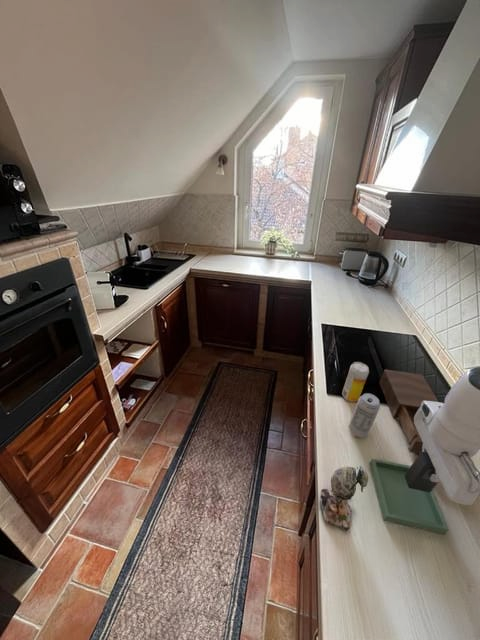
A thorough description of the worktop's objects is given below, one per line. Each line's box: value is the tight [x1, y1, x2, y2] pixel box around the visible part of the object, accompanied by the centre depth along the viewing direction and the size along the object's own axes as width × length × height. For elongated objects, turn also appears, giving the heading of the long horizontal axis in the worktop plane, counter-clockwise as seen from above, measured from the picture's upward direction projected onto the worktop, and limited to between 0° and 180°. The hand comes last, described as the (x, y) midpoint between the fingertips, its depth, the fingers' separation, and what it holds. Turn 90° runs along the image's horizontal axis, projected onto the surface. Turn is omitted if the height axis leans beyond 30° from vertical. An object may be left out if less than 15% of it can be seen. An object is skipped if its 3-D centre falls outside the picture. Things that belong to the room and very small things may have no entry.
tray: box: [369, 458, 449, 535], centre depth 67 cm, size 14×15×2 cm
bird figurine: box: [319, 465, 369, 532], centre depth 60 cm, size 8×11×20 cm
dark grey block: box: [405, 452, 439, 492], centre depth 62 cm, size 5×3×11 cm, turn 79°
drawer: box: [397, 406, 423, 454], centre depth 80 cm, size 21×12×5 cm, turn 169°
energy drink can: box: [348, 392, 381, 438], centre depth 80 cm, size 6×6×15 cm
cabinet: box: [378, 369, 439, 420], centre depth 93 cm, size 18×14×7 cm
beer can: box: [341, 361, 370, 403], centre depth 93 cm, size 6×6×15 cm
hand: (428, 469), depth 61 cm, fingers closed on dark grey block, 3 cm apart
